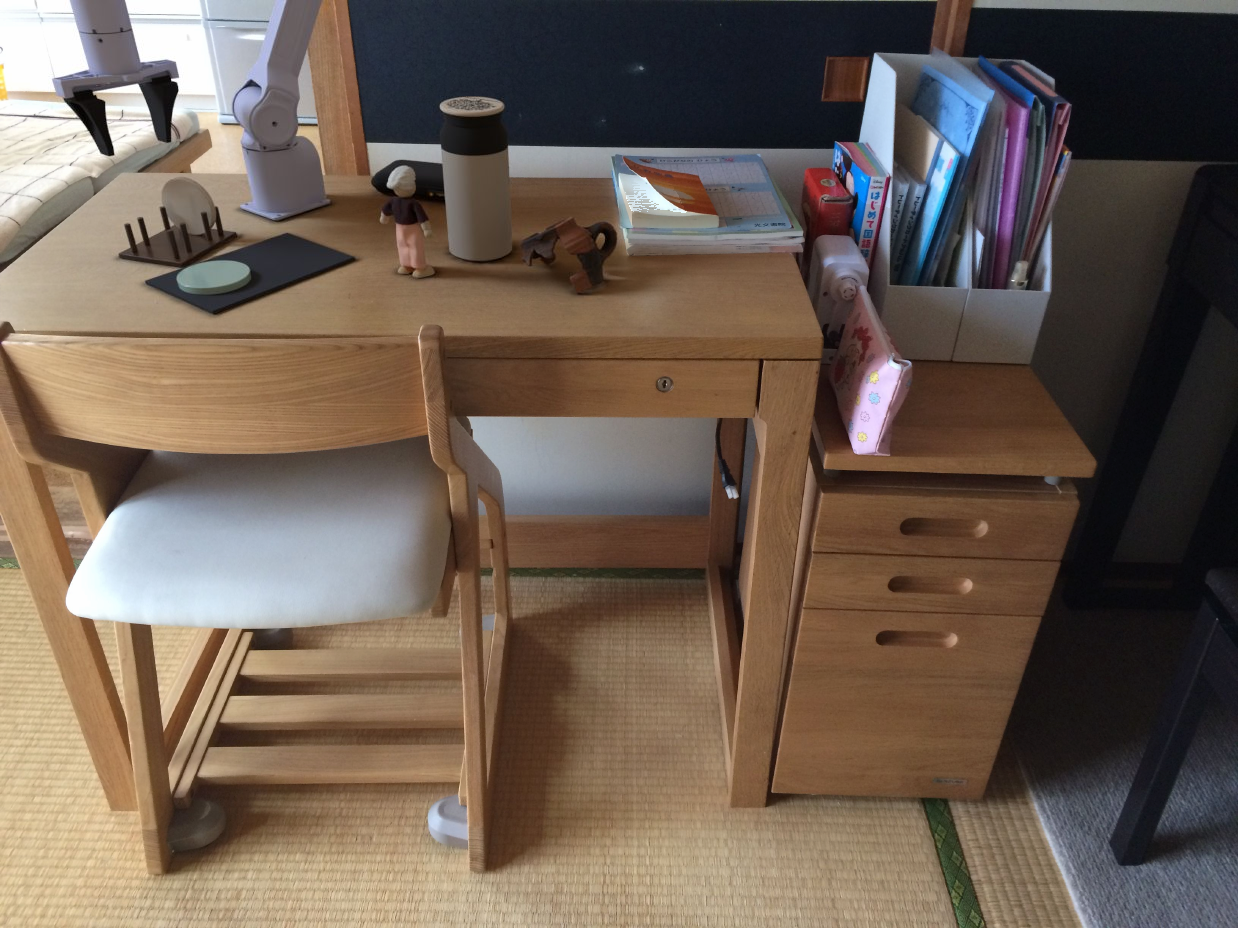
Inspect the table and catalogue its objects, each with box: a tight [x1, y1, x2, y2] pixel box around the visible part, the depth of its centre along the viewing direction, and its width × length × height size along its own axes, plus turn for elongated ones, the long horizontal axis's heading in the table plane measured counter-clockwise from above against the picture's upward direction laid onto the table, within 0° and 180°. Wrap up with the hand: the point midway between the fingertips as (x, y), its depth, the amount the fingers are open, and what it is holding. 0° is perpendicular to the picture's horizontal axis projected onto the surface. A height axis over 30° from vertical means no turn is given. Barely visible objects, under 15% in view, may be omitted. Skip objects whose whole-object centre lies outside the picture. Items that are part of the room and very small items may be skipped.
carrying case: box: [370, 159, 445, 201], centre depth 136 cm, size 11×3×15 cm
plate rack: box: [118, 205, 238, 268], centre depth 116 cm, size 11×9×4 cm
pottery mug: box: [519, 216, 618, 295], centre depth 112 cm, size 12×10×8 cm
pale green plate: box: [177, 260, 251, 295], centre depth 108 cm, size 1×8×8 cm
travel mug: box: [439, 96, 513, 262], centre depth 113 cm, size 8×8×18 cm
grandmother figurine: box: [379, 166, 435, 279], centre depth 109 cm, size 8×4×13 cm, turn 71°
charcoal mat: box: [144, 232, 356, 315], centre depth 111 cm, size 20×13×1 cm, turn 144°
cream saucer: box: [160, 176, 216, 235], centre depth 117 cm, size 1×7×7 cm, turn 75°
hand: (136, 148), depth 116 cm, fingers open, 7 cm apart
